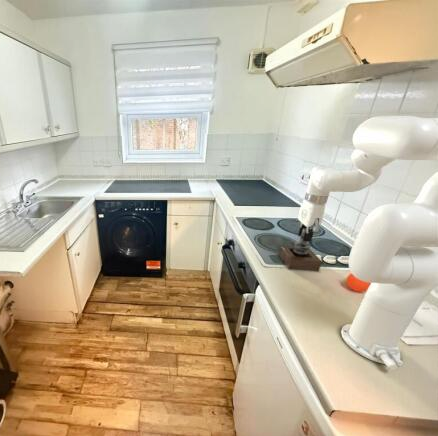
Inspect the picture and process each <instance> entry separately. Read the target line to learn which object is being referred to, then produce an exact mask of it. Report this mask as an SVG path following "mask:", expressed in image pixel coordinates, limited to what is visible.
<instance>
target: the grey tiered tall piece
mask: <svg viewBox="0 0 438 436" xmlns="http://www.w3.org/2000/svg"><path fill="white" fill-rule="evenodd" d="M306 229H307V227H306V228H305V229H303V230H302V234H301V235H300V236H299V240H297V241H295V242H294V246H295V247H296V248H295V249H294V252H296V253H298V254H302V255H306V254H307V251H306V250H308V249H309V248H310V249H311V245H310V244H309V243H308V241H303V236H304V233H305V232H306Z"/></svg>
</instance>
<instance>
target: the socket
mask: <svg viewBox="0 0 438 436" xmlns="http://www.w3.org/2000/svg"><path fill="white" fill-rule="evenodd" d="M295 248H296V247H295V245H280V247H279V251H278V256H279V257H280V259H281V260H282V262H283V263H284V265H285V266H286V268H287V269H288V270H296V271H297V270H298V271H309V272H310V271H311V272H320V270H321V266H322V264H323V263H322V262H323V260H321V259H320V257H318V256H317V255H316V253H315V252H314V251H313V250H312V249H311V247H310V248H309V249H308V250H306V251H307V254H306V255H302V254H298V253H296V252H294V249H295Z"/></svg>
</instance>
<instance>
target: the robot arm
mask: <svg viewBox="0 0 438 436" xmlns="http://www.w3.org/2000/svg"><path fill="white" fill-rule="evenodd" d="M352 144H353V146H354V148H355V149H354V150H353V151H352V154H351V162H352V164H353V166H354V167H355V168H356V170H355V169H354V170H349V169H347V170H345V169H344V170H343V169H342V170H341V169H338V170H337V169H335V167H332V166H326V165H318V166H314V167H313V168H312V170H311V173H310V176H309V180H308V183H307V188H306V191H305V194H304V199H303V200H302V203H301V205H300V208H299V211H298V214H297V220H298V221H299V223H300V224H299V229H298V234H297V236H298V237H300V235H301V234H302V230H303V229H305V228H306V227H307V229H306V232H305V233H304V236H303V241H308V242H312V240H313V236H314V234H315V233H316V232H317V233H318V232H319V230H320V229H319V228H320V227H321V225H322V222H323V219H324V214H325V210H326V205H327V203H328V199H329V196H330V193H354V192H359V191H361V190H363V189H366V188H367V187H369V186H371V185H373V184H375V183H376V182H377V181H378V179H379V178H380V177H381V174H382V172H383V168H384V167H385V166H387V165H389V164H391V163H392V162H394V161H396V160H399V161H402V160H403V161H438V117H420V116H416V115H376V116H372V117H370V118H368V119H366V120H364V121H362V122H361V123H360V124H359V125H358V127H356V129H355V130H354V133H353V135H352ZM430 248H438V171H436V172H435V173H434V174H433V175H432V176H430V177H429V179H427V180H426V181H425V183H424V184H423V186H422V188H421V190H420V192H419V194H418V195H417V197H416V198H415V199H414V201H412V202H410V203H397V202H396V203H385V204H382V205H380V206H377V207H375V208H373V209H372V210H371V211H370V212H369V213H368V214H367V216H366V217H365V219H364V220H363V223H362V225H361V227H360V229H359V232H358V234H357V236H356V238H355V241H354V243H353V245H352V248H351V249H350V252H349V255H348V260H347V261H348V264H347V265H348V269H349V271H350V274H353V275H354V276H355V277H356V278H357V279H359V280H361V281H365V282H369V283H371V284H370V286H369V288H368V290H366V291H365V294H364V296H363V299H362V301H361V302H360V305H359V307H358V309H357V311H356V314H355V316H354V318H353V321H352V323H347V324H344V325H343V326H342V328H341V331H340V334H341V337H342V339H343V341H344V342H345V343H346V345H347V346H349V348H351V349H352V350H353V351H355V352H356V353H358V354H359V355H360V356H362V357H364V358H366V359H368V360H370V361H372V362H376V363H378V364H382V365H385V366H386V367H387V368H388V369H389V370H391V371H395V370H397V369H398V367H402V366H404V365H405V363H404V362H403V361H402V360H401V356H402V355H401V351H400V349H401V348H399V347H398V344H399V343H400V341H401V339H402V338H403V335H404V334H405V332H406V330H407V328H408V327H409V325H410V324H411V322H412V320H413V318H414V317H415V314H416V313H417V312H418V310H419V309H420V307H421V306H422V303H423V302H424V300H425V299H426V298H427V296H429V294H430V293H432V291H434V289H435V288H437V287H438V252H437V251H434V250H432V249H430Z"/></svg>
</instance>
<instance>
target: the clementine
mask: <svg viewBox="0 0 438 436" xmlns="http://www.w3.org/2000/svg"><path fill="white" fill-rule="evenodd" d="M345 282H346V284H347V286H348V287H349V288H350V289H351V290H353V291H355V292H367V290H368V288H369V286H370V284H371V283H369V282H365V281H361V280H359V279H357V278H356V277H355V276H354V275H353V274H352V273H349V274H348V275H347V277H346V281H345Z"/></svg>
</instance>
